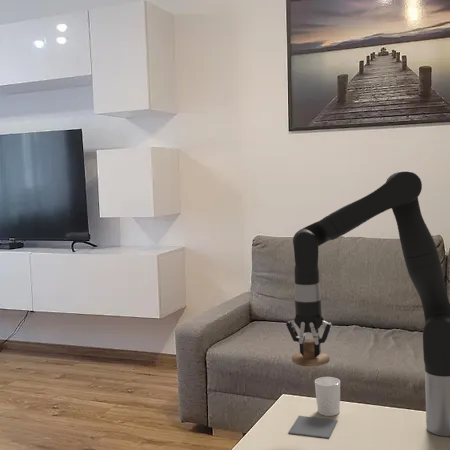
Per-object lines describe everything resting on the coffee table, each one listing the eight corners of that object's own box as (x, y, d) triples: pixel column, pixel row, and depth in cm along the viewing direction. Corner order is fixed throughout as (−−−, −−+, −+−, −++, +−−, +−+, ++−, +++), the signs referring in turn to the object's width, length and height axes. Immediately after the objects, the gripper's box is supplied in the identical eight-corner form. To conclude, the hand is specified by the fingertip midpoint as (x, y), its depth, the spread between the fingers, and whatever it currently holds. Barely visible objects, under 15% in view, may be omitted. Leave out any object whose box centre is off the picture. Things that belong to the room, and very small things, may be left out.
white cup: (343, 416, 180) (342, 385, 179) (317, 417, 180) (316, 386, 179) (339, 406, 188) (337, 376, 187) (314, 407, 188) (313, 377, 187)
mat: (337, 421, 177) (337, 419, 177) (329, 438, 166) (329, 437, 166) (299, 416, 181) (298, 415, 181) (288, 433, 170) (288, 432, 170)
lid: (333, 355, 175) (332, 336, 174) (325, 367, 165) (324, 347, 164) (297, 353, 179) (296, 334, 178) (287, 364, 169) (286, 345, 168)
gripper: (334, 295, 171) (336, 353, 172) (288, 294, 176) (290, 350, 178) (329, 301, 164) (331, 361, 165) (280, 300, 169) (283, 358, 171)
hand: (310, 355), depth 172 cm, fingers closed on lid, 3 cm apart
